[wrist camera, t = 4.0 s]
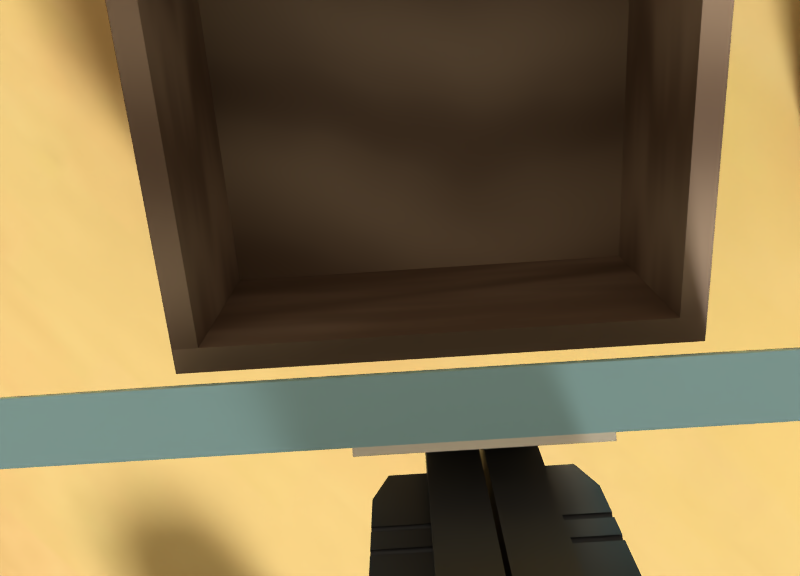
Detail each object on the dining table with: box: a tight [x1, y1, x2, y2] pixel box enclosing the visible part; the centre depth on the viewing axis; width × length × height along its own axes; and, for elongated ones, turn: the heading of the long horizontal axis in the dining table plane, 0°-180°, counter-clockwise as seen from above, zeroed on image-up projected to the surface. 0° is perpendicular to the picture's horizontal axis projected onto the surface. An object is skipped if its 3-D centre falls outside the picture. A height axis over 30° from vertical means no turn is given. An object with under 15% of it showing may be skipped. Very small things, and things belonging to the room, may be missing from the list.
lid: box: [0, 348, 800, 469], centre depth 15 cm, size 14×16×1 cm
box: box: [106, 0, 734, 374], centre depth 23 cm, size 13×16×7 cm
